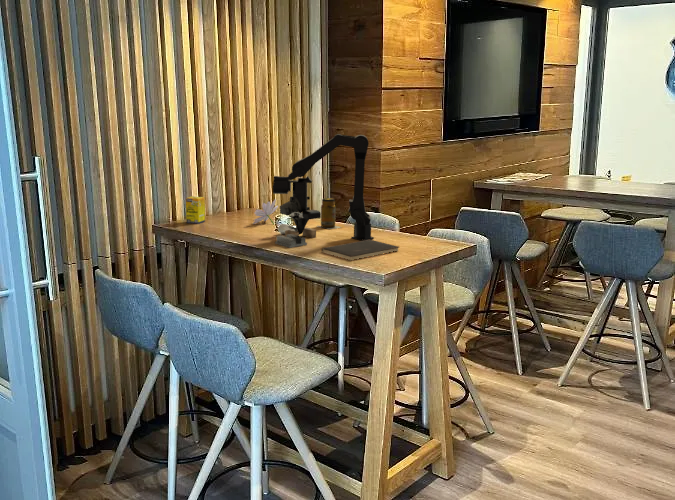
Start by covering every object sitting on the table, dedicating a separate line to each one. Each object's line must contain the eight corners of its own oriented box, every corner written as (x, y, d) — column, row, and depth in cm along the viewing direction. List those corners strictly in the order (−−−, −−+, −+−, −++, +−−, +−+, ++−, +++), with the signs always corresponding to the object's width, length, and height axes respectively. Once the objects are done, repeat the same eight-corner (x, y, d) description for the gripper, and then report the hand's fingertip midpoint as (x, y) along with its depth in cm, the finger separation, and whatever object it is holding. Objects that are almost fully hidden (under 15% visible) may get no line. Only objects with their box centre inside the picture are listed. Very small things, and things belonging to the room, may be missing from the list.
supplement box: (186, 223, 291) (185, 198, 289) (193, 220, 297) (192, 196, 294) (198, 224, 290) (197, 198, 287) (205, 221, 295) (204, 196, 293)
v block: (306, 244, 252) (306, 237, 252) (289, 247, 247) (289, 240, 246) (292, 240, 259) (292, 233, 258) (275, 243, 254) (275, 236, 253)
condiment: (329, 224, 292) (329, 197, 289) (342, 227, 286) (342, 199, 283) (316, 226, 288) (316, 198, 285) (328, 229, 281) (328, 201, 278)
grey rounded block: (315, 237, 266) (316, 229, 265) (294, 240, 259) (294, 233, 258) (306, 234, 270) (306, 227, 269) (285, 238, 263) (285, 230, 263)
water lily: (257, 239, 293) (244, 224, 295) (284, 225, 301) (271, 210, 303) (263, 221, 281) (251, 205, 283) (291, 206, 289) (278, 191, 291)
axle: (301, 234, 267) (298, 225, 265) (294, 239, 265) (291, 230, 263) (287, 230, 274) (284, 221, 272) (280, 235, 272) (277, 226, 270)
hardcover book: (399, 252, 244) (399, 246, 243) (351, 262, 229) (351, 255, 229) (368, 245, 256) (368, 239, 255) (321, 253, 241) (321, 247, 240)
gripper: (268, 193, 263) (269, 232, 266) (298, 198, 249) (298, 240, 252) (291, 190, 270) (291, 229, 273) (321, 196, 256) (321, 236, 260)
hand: (300, 233), depth 265 cm, fingers closed
